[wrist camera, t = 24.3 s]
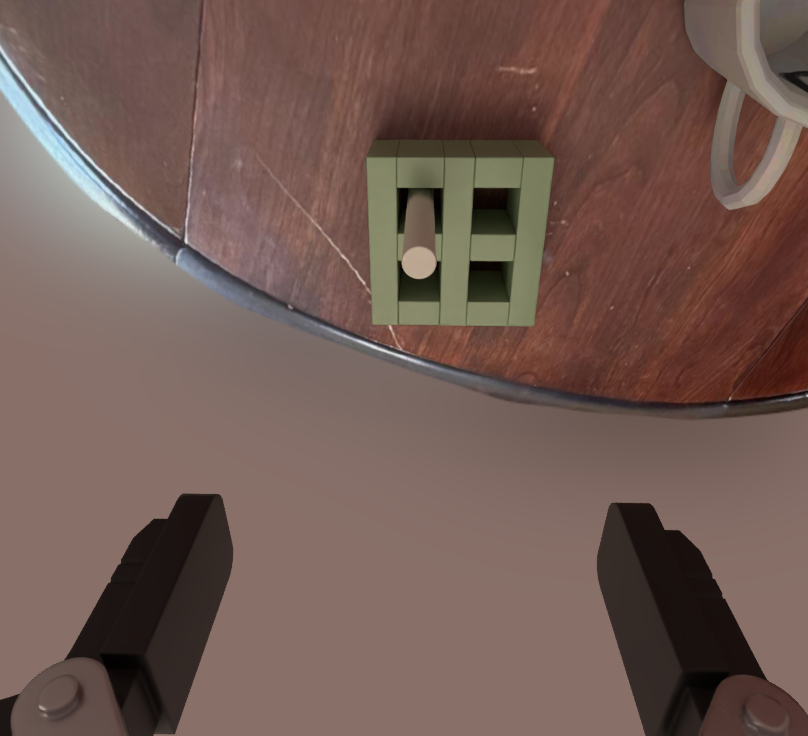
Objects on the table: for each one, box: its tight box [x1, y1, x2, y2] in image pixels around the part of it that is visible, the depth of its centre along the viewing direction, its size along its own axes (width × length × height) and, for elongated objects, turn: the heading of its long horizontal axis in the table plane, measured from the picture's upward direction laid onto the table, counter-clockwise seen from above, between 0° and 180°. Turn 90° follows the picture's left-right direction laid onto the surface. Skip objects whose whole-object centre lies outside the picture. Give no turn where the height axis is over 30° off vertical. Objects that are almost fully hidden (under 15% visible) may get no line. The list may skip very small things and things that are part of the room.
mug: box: [684, 0, 808, 210], centre depth 28 cm, size 10×15×10 cm
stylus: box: [402, 188, 437, 279], centre depth 31 cm, size 2×2×13 cm
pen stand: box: [366, 140, 555, 326], centre depth 35 cm, size 10×10×5 cm
